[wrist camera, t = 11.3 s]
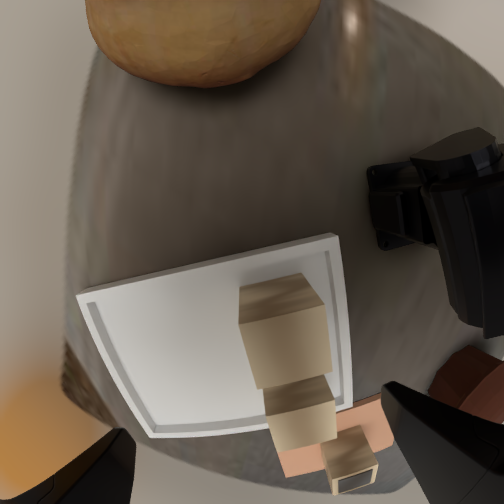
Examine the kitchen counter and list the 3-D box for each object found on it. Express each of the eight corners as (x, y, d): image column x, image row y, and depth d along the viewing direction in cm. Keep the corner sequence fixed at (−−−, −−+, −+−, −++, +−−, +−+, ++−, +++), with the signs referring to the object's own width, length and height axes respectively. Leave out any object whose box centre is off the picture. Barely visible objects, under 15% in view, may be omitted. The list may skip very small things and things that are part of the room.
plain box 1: (301, 272, 19) (324, 304, 13) (310, 326, 20) (332, 371, 14) (239, 286, 19) (238, 325, 13) (253, 340, 20) (257, 389, 14)
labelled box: (359, 424, 23) (379, 465, 17) (358, 445, 24) (374, 483, 18) (319, 436, 23) (332, 480, 17) (321, 457, 24) (333, 496, 18)
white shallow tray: (329, 232, 19) (338, 236, 18) (346, 395, 23) (352, 406, 21) (86, 288, 20) (75, 295, 18) (153, 426, 23) (149, 437, 21)
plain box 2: (314, 352, 21) (334, 399, 15) (319, 391, 22) (337, 438, 16) (260, 365, 21) (265, 416, 15) (270, 402, 22) (277, 452, 16)
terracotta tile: (399, 385, 23) (402, 389, 22) (390, 441, 25) (392, 445, 24) (269, 424, 23) (269, 429, 22) (285, 472, 25) (285, 477, 25)
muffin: (404, 417, 24) (439, 472, 15) (440, 340, 22) (498, 390, 12) (463, 401, 25) (498, 440, 15) (495, 333, 23) (543, 366, 13)
